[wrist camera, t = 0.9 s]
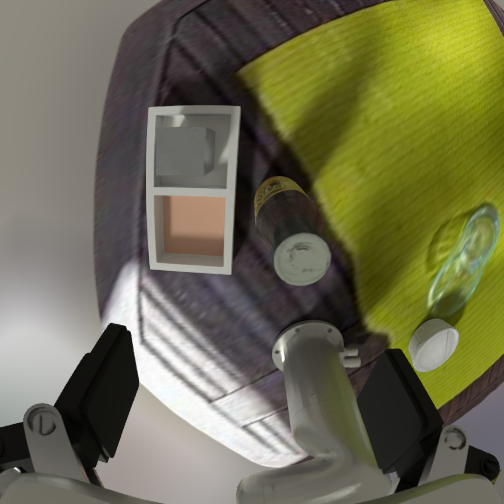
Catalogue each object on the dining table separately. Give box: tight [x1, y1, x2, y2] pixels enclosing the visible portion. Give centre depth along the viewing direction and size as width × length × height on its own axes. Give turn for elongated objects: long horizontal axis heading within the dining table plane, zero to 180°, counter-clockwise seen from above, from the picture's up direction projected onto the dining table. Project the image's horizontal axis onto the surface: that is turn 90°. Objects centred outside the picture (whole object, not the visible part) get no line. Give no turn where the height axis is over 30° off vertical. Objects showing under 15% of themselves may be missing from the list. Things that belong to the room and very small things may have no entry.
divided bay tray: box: [146, 105, 241, 275], centre depth 34 cm, size 21×11×4 cm, turn 176°
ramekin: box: [409, 318, 459, 372], centre depth 44 cm, size 11×11×5 cm
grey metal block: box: [156, 127, 216, 176], centre depth 29 cm, size 5×5×8 cm
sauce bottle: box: [255, 176, 331, 286], centre depth 27 cm, size 7×6×20 cm
